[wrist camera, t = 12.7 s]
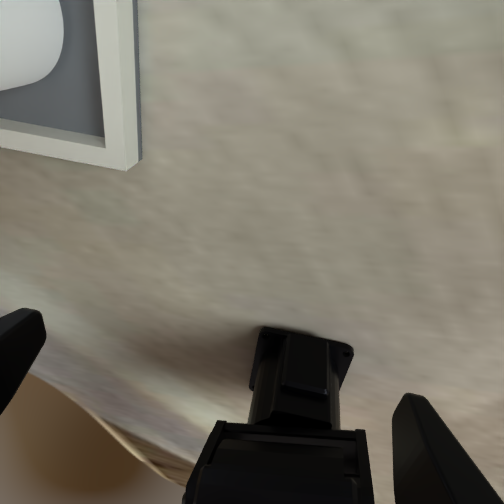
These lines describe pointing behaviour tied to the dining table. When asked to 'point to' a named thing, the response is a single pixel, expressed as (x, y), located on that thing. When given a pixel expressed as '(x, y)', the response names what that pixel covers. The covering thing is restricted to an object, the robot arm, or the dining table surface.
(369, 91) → the dining table surface
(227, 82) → the dining table surface
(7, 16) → the can
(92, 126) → the square tray
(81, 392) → the dining table surface
